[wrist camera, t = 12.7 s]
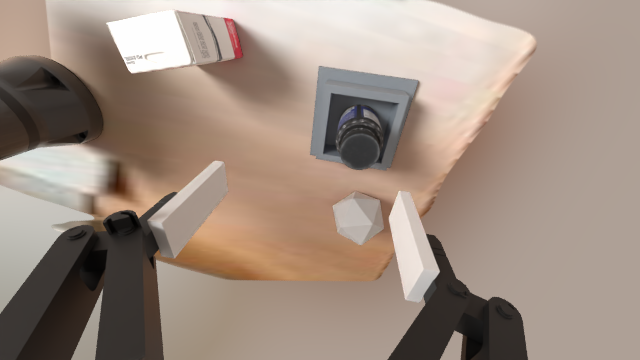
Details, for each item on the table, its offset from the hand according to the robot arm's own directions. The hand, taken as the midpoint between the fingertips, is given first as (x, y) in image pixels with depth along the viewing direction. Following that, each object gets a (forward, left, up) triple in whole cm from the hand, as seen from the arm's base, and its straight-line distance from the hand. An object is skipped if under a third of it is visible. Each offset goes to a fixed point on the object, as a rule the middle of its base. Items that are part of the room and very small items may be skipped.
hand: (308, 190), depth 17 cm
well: (+4, -1, -22) cm, 22 cm away
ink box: (-19, +7, -22) cm, 30 cm away
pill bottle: (+4, -1, -22) cm, 22 cm away
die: (+7, -17, -22) cm, 29 cm away
